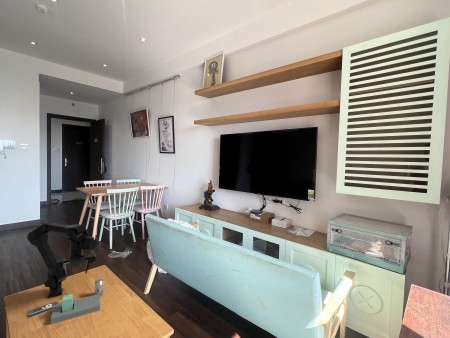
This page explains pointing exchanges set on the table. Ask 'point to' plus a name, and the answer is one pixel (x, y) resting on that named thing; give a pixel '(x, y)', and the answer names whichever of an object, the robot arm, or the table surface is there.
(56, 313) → the plate
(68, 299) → the square peg
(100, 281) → the round peg
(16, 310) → the table surface
